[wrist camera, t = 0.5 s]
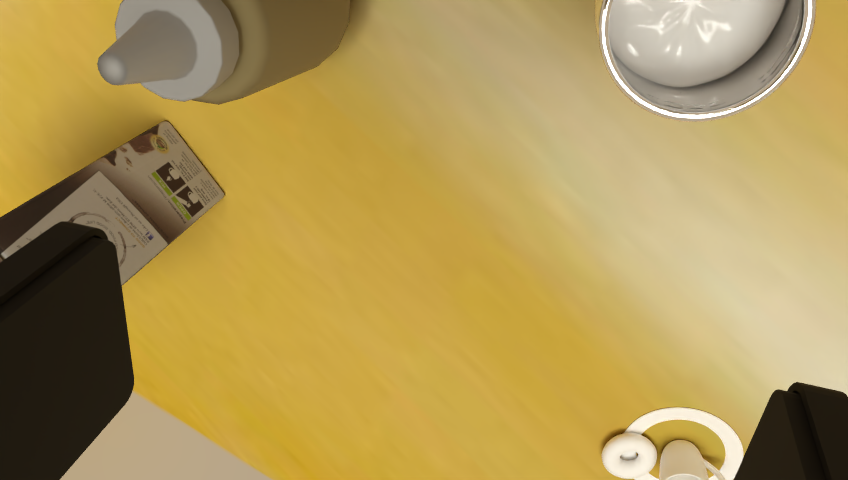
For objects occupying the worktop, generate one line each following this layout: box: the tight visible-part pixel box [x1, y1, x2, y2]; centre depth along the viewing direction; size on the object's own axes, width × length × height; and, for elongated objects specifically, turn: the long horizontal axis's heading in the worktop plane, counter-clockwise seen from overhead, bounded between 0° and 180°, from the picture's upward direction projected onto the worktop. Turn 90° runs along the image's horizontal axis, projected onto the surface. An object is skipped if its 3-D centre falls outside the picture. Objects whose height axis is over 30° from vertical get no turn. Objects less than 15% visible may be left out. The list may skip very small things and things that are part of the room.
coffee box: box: [0, 121, 224, 286], centre depth 43 cm, size 9×6×16 cm
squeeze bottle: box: [98, 0, 350, 105], centre depth 33 cm, size 8×8×18 cm
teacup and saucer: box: [602, 407, 743, 480], centre depth 49 cm, size 9×8×4 cm
